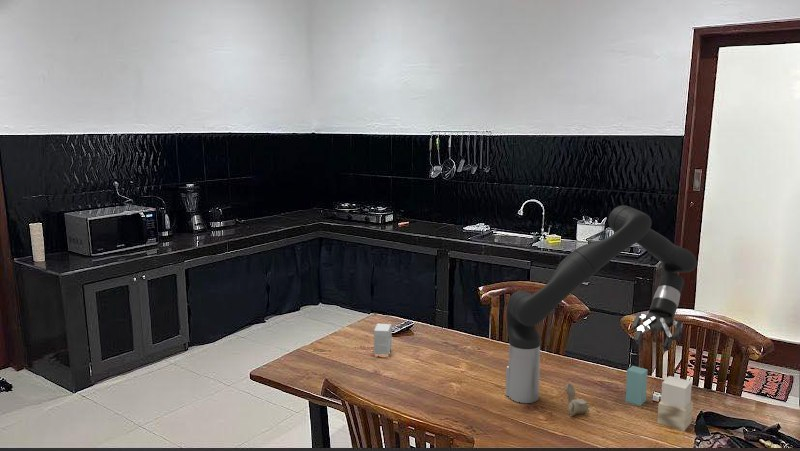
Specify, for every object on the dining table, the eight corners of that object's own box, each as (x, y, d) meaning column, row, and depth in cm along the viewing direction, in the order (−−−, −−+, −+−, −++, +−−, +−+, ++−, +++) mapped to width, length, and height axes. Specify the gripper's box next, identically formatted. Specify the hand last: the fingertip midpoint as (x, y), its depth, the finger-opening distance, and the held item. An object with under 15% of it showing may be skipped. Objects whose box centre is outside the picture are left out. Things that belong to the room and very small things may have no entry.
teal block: (625, 401, 172) (626, 370, 170) (630, 396, 175) (632, 365, 174) (640, 405, 169) (642, 374, 167) (645, 400, 172) (647, 369, 171)
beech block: (657, 423, 159) (658, 403, 158) (665, 414, 164) (666, 394, 163) (684, 431, 154) (685, 411, 153) (691, 421, 159) (693, 401, 158)
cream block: (660, 402, 158) (662, 382, 157) (667, 395, 162) (669, 375, 162) (683, 409, 154) (685, 388, 153) (690, 401, 159) (691, 381, 158)
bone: (591, 418, 159) (574, 385, 160) (571, 425, 161) (553, 394, 162) (593, 406, 167) (576, 375, 168) (573, 414, 169) (557, 384, 170)
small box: (377, 349, 217) (377, 323, 215) (392, 350, 216) (391, 323, 214) (373, 357, 209) (373, 330, 207) (388, 358, 208) (388, 330, 206)
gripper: (640, 292, 187) (625, 335, 180) (686, 300, 178) (672, 345, 171) (645, 304, 192) (630, 346, 185) (690, 313, 182) (677, 357, 176)
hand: (650, 346), depth 178 cm, fingers open, 8 cm apart
